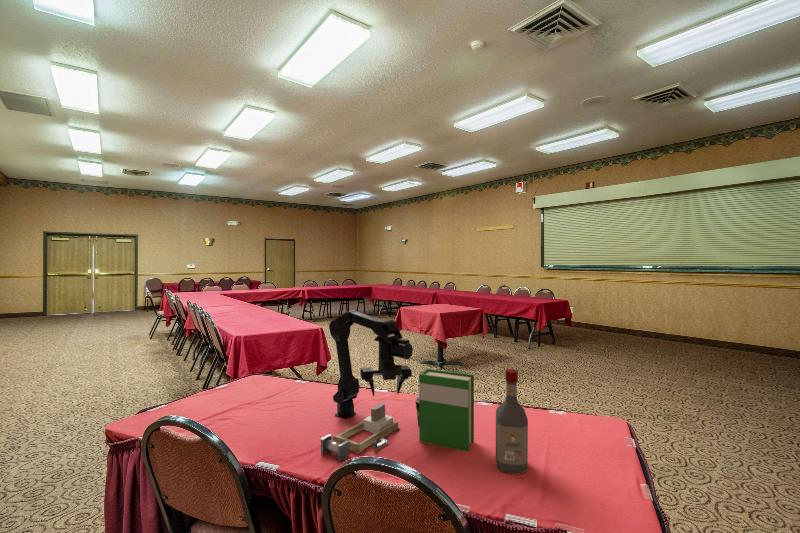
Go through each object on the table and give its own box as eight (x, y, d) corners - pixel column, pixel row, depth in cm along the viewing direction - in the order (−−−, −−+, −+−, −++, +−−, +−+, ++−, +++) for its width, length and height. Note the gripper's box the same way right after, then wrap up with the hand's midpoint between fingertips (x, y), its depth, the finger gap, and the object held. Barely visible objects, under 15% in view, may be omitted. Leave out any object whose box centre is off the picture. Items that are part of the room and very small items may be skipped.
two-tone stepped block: (363, 429, 147) (363, 407, 147) (376, 422, 154) (376, 400, 153) (380, 435, 143) (379, 412, 142) (393, 427, 149) (393, 405, 149)
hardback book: (473, 441, 137) (473, 374, 136) (468, 451, 131) (468, 381, 130) (426, 432, 145) (426, 368, 144) (419, 441, 138) (419, 374, 137)
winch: (320, 453, 130) (320, 438, 130) (329, 448, 134) (329, 434, 133) (340, 461, 125) (340, 446, 125) (348, 456, 128) (348, 441, 128)
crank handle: (375, 450, 132) (375, 442, 132) (367, 446, 135) (366, 437, 135) (388, 444, 136) (388, 435, 136) (380, 440, 139) (380, 431, 139)
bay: (333, 444, 137) (332, 435, 137) (375, 420, 155) (375, 412, 155) (357, 453, 130) (357, 444, 130) (398, 427, 149) (398, 419, 149)
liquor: (528, 475, 117) (529, 376, 116) (497, 472, 118) (497, 374, 117) (524, 459, 126) (524, 367, 125) (495, 456, 127) (495, 365, 126)
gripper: (364, 361, 136) (363, 405, 137) (416, 359, 140) (415, 401, 141) (360, 352, 147) (359, 393, 148) (408, 350, 151) (407, 390, 152)
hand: (385, 394), depth 147 cm, fingers open, 9 cm apart
